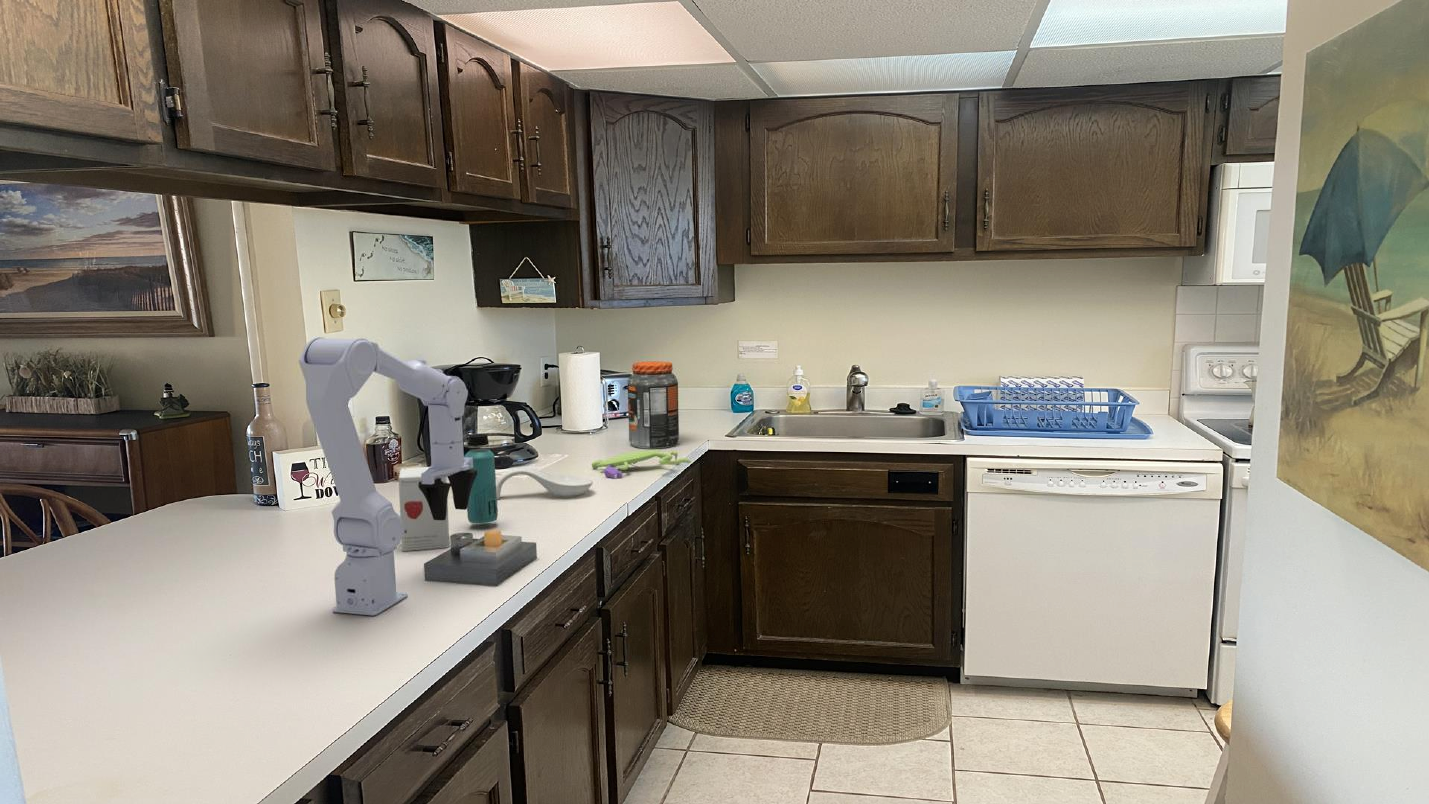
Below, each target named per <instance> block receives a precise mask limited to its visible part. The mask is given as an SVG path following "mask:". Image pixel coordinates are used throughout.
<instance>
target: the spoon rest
mask: <svg viewBox="0 0 1429 804" xmlns="http://www.w3.org/2000/svg"><path fill="white" fill-rule="evenodd" d="M518 475H520V476H521V475H522V476H523V475H524V476H528V477H530V478H532V479H534V480H535V481H536V482H538V483H539V484H540V485H541V486H542V487H543V488H544V489H546V490H547V491H548V492H549V493H550V494H552V495H553V496H554V497H556V498H575V497H578V496H580V495H583V494H584V493H585V492H587V491H588V490H589V489H590V488H591V486H593V482H594V481H593V479H590V478H589V477H584V476H579V475H570V474H561V473H560V474H559V473H552V472H548V471H543V470H539V469H534V468H527V467H520V468H519V467H518V468H514V469H511V470H508V471H506V472H505V473H504V474H502V475H501V476H500V477H499V478H498V481H496V488H497V489H496V490H497V491H496V493H497V494H496V495H497V500H500V497H501V491H502V486H503V485H504V483H505V482H506V481H507V480H509V479H511V478H512V477H514V476H518Z"/></svg>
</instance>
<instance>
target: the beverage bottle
mask: <svg viewBox="0 0 1429 804" xmlns="http://www.w3.org/2000/svg"><path fill="white" fill-rule="evenodd" d="M489 443H490V442H489V435H488V434H486V433H476V434H475V433H474V434H470V435H469V436H468V446H470V447H481V446H482V447H483V446H487V445H489ZM464 457H469V458H473V468H470V470H477V476H476V478H475V480H474V482H473V485H472V488H471V492H470V496H469V502H468V506H467V509H466V513H467V515H466V516H467V517H466V518H467V520H468V522H469V523H471V524H488V523H493V522H495V521H497V520H498V517H499V508H498V506H499V504H498V502H499V501H498V500H499V499H498V500H497V495H496V494H497V493H496V491H497V490H496V489H497V488H496V485H497V477H496V476H497V474H496V467H495V454H494V453H493V452H492V450H490V449H488V448H477V449H476V448H475V449H470V450H469V451H468V452H466V454H465V455H464Z"/></svg>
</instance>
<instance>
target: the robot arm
mask: <svg viewBox="0 0 1429 804" xmlns="http://www.w3.org/2000/svg"><path fill="white" fill-rule="evenodd" d="M298 363H299V366H300V369H301V372H302V375H303V378H304V381H305V401H306V406H307V409H308V412H309V415H310V418H311V421H312V423H313V426H314V429H315V431H316V432H315V433H316V434H317V438H318V441H319V443H320V446H321V448H322V452H323V454H324V457H325V460H326V463H327V466H328V468H329V469H328V470H329V471H330V474H331V477H332V479H333V484H334V485H335V486H334V487H335V488H336V492H337V494H338V497H339V502H337V503H336V505H335V506H334V508H333V509H332V510H331V515H332V519H333V536H334V538H335V541H336V542H337V543H338V544H339V545H341V546H342V551H343V552H344V553H345V554H346V555H345V559H344V561H342V562H341V563H340V564H338V566H337V567H336V569H335V571H334V588H335V589H334V590H335V602H336V603H335V604H336V606H335V607H333V608H332V613H341V614H351V615H352V614H353V615H365V616H377V615H379V614H380V613H382V612H384V611H385V610H387V609H389V608H390V607H391V606H393V605H395V604H397V603H398V602H400V601H402V600H403V599H405V598H407V597H408V596H409V595H408V593H407V592H399V591H397V580H396V566H395V563H396V562H395V552H394V551H395V550H397V549H398V546H399V544H400V542H402V536H403V522H402V519H401V517H400V514H398V513H397V512H396V511H395V509H394V506H393V503H392V502H391V501H390V500H388V499H387V498H386V497H385V496H383V495H382V494H381V493H380V492H378V491H377V490H376V489H377V488H376V486H375V483H374V480H373V476H372V474H371V471H370V468H369V465H368V461H367V458H366V456H365V455H366V454H365V453H364V452H365V451H364V450H363V446H362V443H361V440H360V437H359V434H358V432H357V428H356V426H355V422H354V419H353V415H352V414H351V413H352V412H351V411H350V406H349V402H350V400H351V399H352V398H354V397H356V396H357V394H358V393H359V392H360V391H361V389H362V388H363V386H364V385H365V384H366V382H367V381H368V380H369V378H370V377H371V376H372V375H373V373H376V374H379V375H381V376H384V377H386V378H389V379H391V380H395V381H396V385H397V387H398V389H399V390H400V391H402V392H404V393H407V394H409V395H412V396H414V397H416V398H418V399H420V401H421V402H422V404H423V405H424V406H425V407H428V409H427V410H428V422H429V423H428V424H429V425H428V427H429V440H430V441H429V442H430V443H429V444H430V459H431V461H430V462H431V464H430V466H428V467H429V468H428V469H427V470H426V471H425V472H423V473H421V479H422V481H421V482H419V483H418V486H419V489H420V490H421V491H422V493H423V494H424V496H425V498H426V500H427V502H428V505H429V507H430V510H431V514H432V517H433V519H434V520H445V519H446V514H447V498H449V492H450V489H451V493H452V500H453V505H454V509H455V510H460V511H461V510H466V511H467V506H468V502H469V496H470V492H471V488H472V485H473V482H474V480H475V478H476V476H477V470H470V468H473V458H469V457H464V456H465V455H464V436H463V434H464V433H463V416H464V413H465V404H466V402H467V400H468V395H469V391H468V389H467V387H466V383H465V382H464V381H463V380H462V379H461V378H460V377H459V376H456V375H454V376H453V375H446V374H445V373H444V371H443V370H442V369H440V368H433V367H431V366H429V365H427V364H428V363H427V360H424V359H421V358H418V359H417V358H415V359H412V360H408V361H404V360H402V359H401V358H399V357H397V356H396V355H393V354H392V353H390V352H388V351H387V350H385V349H383V348H382V347H380V345H379V344H378V343H377V342H374V341H370V340H368V339H367V338H363V337H357V338H326V337H320V336H319V337H318V336H317V337H314V338H312V339H310V340H309V341H308V342H307V343H306V345H305V347H304V349H303V351H302V353H301V355H300V358H299V360H298ZM445 477H447V480H448V482H449V483H448V482H447V483H443V481H441V479H442V478H445Z"/></svg>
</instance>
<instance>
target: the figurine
mask: <svg viewBox="0 0 1429 804" xmlns="http://www.w3.org/2000/svg"><path fill="white" fill-rule="evenodd" d="M673 456H674V460H672V459H673ZM655 457H658V458H659V460H658V463H659V464H661V465H673V466H674V465H677V464H681V463H683V464H684V463H686V464H691V462H692V461H691V459H690V458H678V457H679V454H678V452H677V451H675V450H672V451H671V452H670V453H668V452H663V451H662V452H661V451H660V450H657V449H646V450H640V451H632V452H628V453H624V454H620V455H616V456H613V457H610V458H607V459H605V460H601V459H598V460H595V461H593V462H592V463H591V467H592V468H594V469H598V467H599V468H603V467H605V469H604V477H607V478H609V477H610V478H609V479H622V478H623V471H625V470H628V469H629V467H630V466H632V467H635V468H640V469H641V467H640V466H637V465H634V464H638V463H640V462H643V461H647V460H649V459H653V458H655ZM629 465H630V466H629ZM621 477H622V478H621Z"/></svg>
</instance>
